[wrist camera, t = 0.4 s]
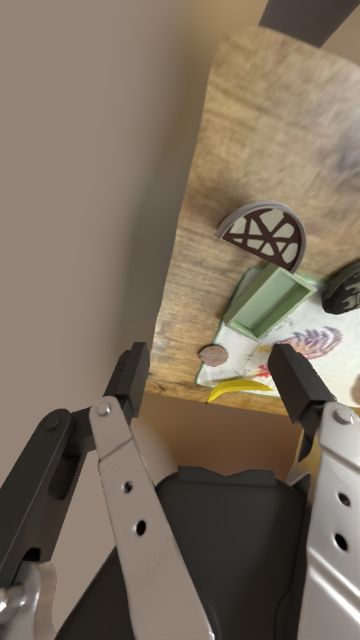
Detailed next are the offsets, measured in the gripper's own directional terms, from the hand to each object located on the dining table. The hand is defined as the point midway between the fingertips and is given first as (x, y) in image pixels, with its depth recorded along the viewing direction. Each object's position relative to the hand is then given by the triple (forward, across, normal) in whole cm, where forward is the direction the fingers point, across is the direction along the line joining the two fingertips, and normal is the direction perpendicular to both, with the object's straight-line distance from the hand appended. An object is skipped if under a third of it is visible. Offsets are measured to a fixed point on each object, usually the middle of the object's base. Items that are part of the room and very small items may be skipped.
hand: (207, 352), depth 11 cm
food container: (+25, -9, -4) cm, 27 cm away
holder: (+25, -14, +11) cm, 31 cm away
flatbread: (+25, -5, +28) cm, 38 cm away
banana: (+25, -12, +39) cm, 48 cm away
